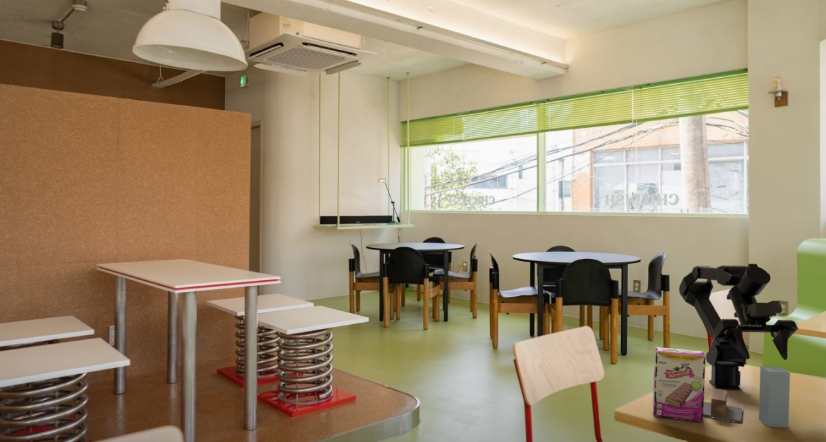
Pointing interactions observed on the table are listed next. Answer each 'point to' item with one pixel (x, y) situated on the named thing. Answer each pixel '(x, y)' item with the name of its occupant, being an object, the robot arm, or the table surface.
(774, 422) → the block
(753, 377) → the table surface
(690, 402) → the candy bar box
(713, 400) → the ridge
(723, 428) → the table surface
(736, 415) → the mat
